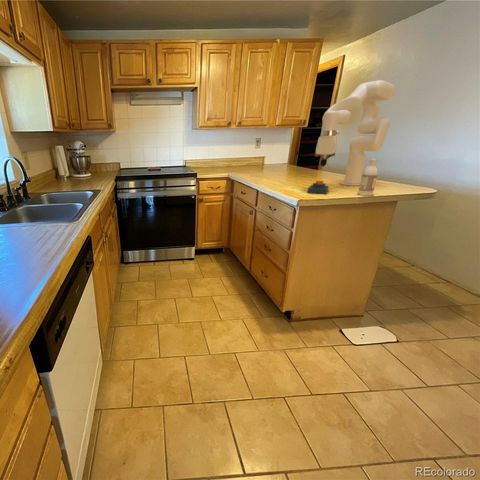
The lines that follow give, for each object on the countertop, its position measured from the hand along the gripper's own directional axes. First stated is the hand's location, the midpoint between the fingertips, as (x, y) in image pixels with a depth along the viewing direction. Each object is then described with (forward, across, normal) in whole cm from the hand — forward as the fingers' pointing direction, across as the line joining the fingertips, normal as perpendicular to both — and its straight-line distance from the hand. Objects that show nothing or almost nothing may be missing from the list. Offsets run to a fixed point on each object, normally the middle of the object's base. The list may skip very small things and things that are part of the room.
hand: (323, 166), depth 163 cm
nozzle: (+11, 0, +2) cm, 11 cm away
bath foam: (+16, -24, +1) cm, 29 cm away
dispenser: (+16, 0, +2) cm, 16 cm away
